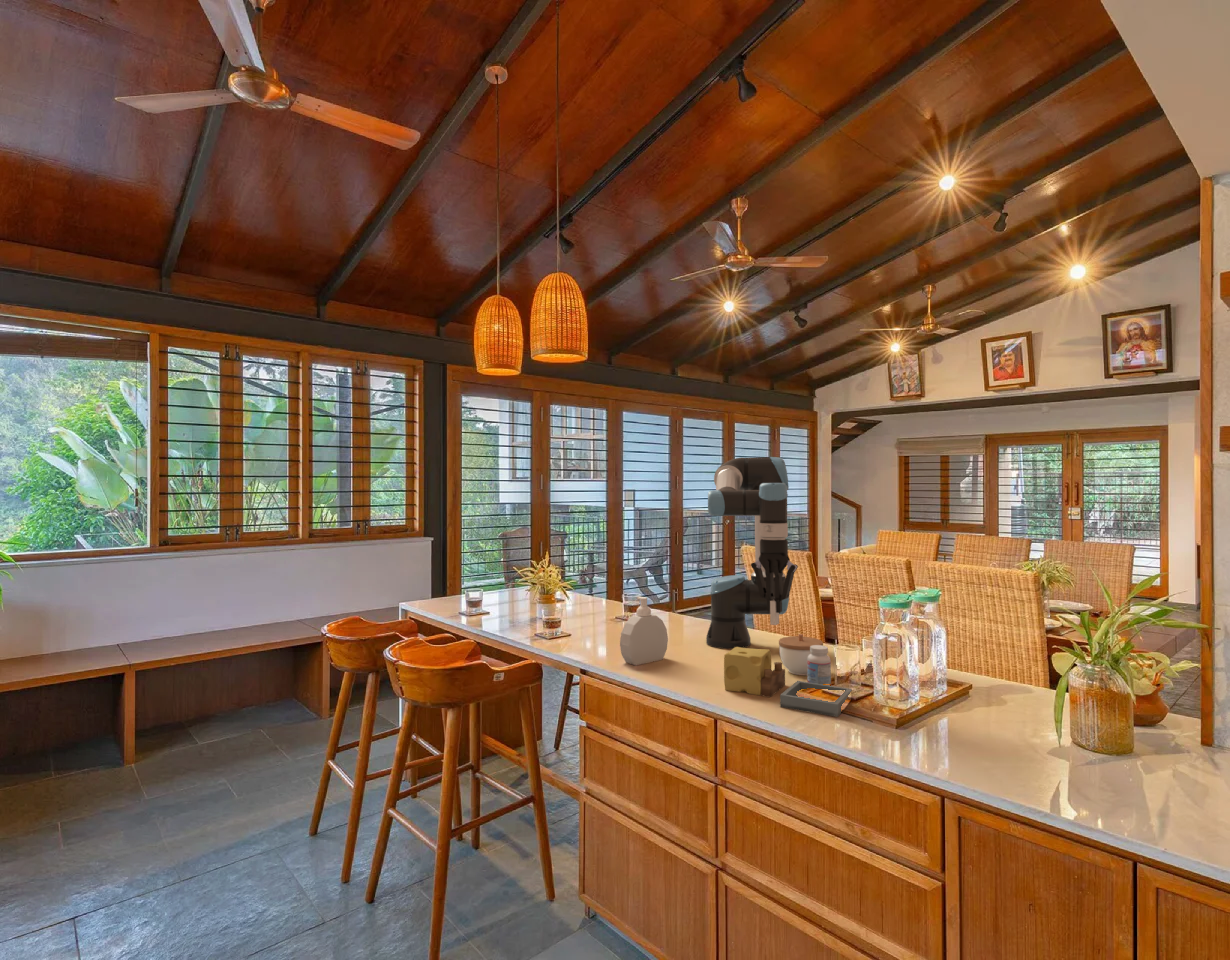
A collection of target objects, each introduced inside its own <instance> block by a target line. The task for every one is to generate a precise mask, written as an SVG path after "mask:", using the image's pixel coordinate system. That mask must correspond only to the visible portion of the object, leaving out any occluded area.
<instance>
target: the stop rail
mask: <svg viewBox="0 0 1230 960" xmlns="http://www.w3.org/2000/svg"><path fill="white" fill-rule="evenodd" d="M785 686H786V669H785V668H783V663H782V661H781V662H780V661H776V662H774V669H773V670H772V668H771V669H764V677H763V678H762V679H761V695H760V696H762V697H767V698H770V697H772V696H774V695H775V694H776V693H777V692H779V690H781V689H782V688H783V687H785Z"/></svg>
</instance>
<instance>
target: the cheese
mask: <svg viewBox="0 0 1230 960" xmlns="http://www.w3.org/2000/svg"><path fill="white" fill-rule="evenodd" d="M771 654H772V653H771V650H770V649H763V648H762V649H761V648H759V649H758V648H748V647H744V648H741V647H735V648H733V649H731V650H730V651H728V652H726V653H725V654H724V656H723V682H724V690H725V691H730V692H738V693H739V692H740V693H743V692H745V693H747V694H749V695H755V696H761V679H762V678H763V677H764V669H771V670H772V655H771Z"/></svg>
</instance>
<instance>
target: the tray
mask: <svg viewBox="0 0 1230 960" xmlns="http://www.w3.org/2000/svg"><path fill="white" fill-rule="evenodd" d="M807 688H815V689H828V690H845V692H844V693H843V694H842V695H841V696H840V697H839V698H838V699H837V700H836V701H835V702H828V701H822V700H816V699H810V698H804V697H798V696H797V695H796V693H797V691H799V690H801V689H807ZM851 691H852V692H853V689H852V688H850V687H849V688H848V687H842V686H835V685H831V686H830V685H823V684H817V683H810V682H808V681H801V680H796V681H795V682H794V683H793V684H792V685H791V686H789V687H788V688H786V689H785V691H783V692H782V693H780V695H779V696H780V697H779V699H780V701H779V704H780V708H784V709H789V710H796V711H800V712H807V713H812V714H818V715H824V716H829V717H836V718H838V717H839V716H840V715H841V714H842V713H841V706H842V704H843V703H844V702H845V700H846V699H847V697H848V695H849V694H850V692H851Z"/></svg>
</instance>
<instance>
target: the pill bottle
mask: <svg viewBox="0 0 1230 960" xmlns="http://www.w3.org/2000/svg"><path fill="white" fill-rule="evenodd" d="M828 648H829V647H828V646H826V645H823V646H822V645H812V646H810V652H811V654H810V655H809V656H808V659H807V668H808V672H807V673H808V675H807V682H810V683H817V684H831V685H832V662H831V661H832V660H831V657H830V656H829V655H828V653H829V649H828Z"/></svg>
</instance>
